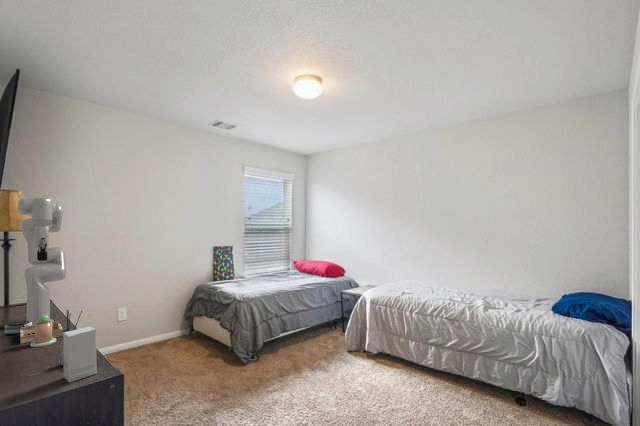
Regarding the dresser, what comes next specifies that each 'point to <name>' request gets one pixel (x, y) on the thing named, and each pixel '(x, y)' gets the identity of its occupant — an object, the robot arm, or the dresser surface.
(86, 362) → the skincare box
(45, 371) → the dresser surface
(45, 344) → the pale mint disc
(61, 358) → the reed diffuser
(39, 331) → the terracotta pot
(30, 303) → the robot arm
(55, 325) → the wooden frame
